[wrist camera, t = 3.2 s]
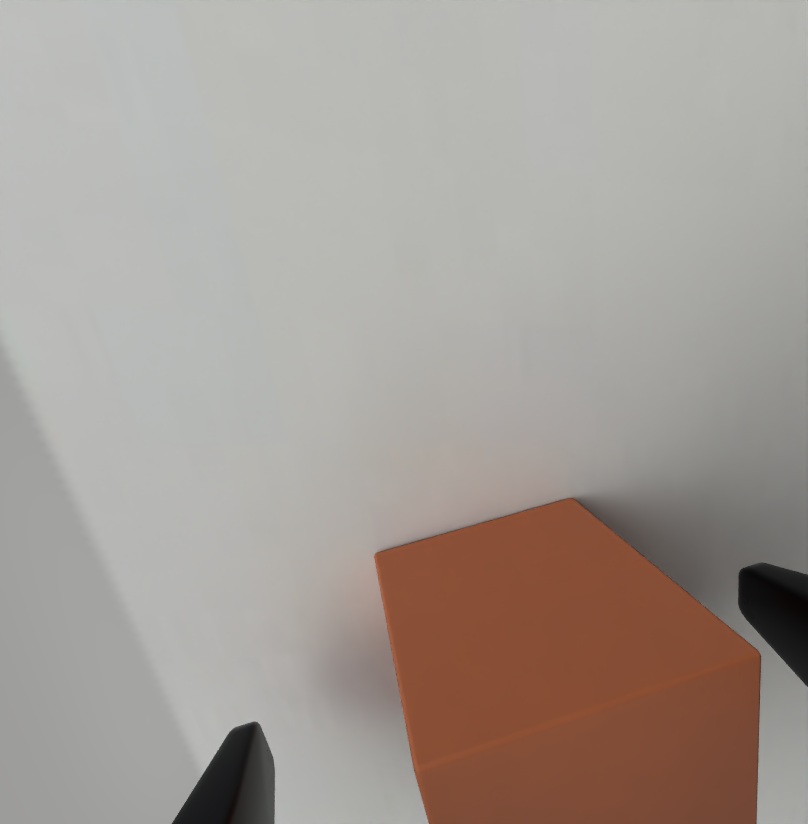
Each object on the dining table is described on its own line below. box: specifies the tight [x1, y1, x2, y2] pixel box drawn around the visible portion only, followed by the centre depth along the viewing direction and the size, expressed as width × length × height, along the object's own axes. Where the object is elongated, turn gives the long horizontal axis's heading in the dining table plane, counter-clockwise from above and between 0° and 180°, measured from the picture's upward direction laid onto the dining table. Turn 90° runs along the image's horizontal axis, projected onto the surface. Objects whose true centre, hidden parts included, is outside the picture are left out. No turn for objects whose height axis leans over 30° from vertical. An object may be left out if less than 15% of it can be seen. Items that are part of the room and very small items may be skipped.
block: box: [374, 498, 761, 824], centre depth 7 cm, size 4×4×4 cm
